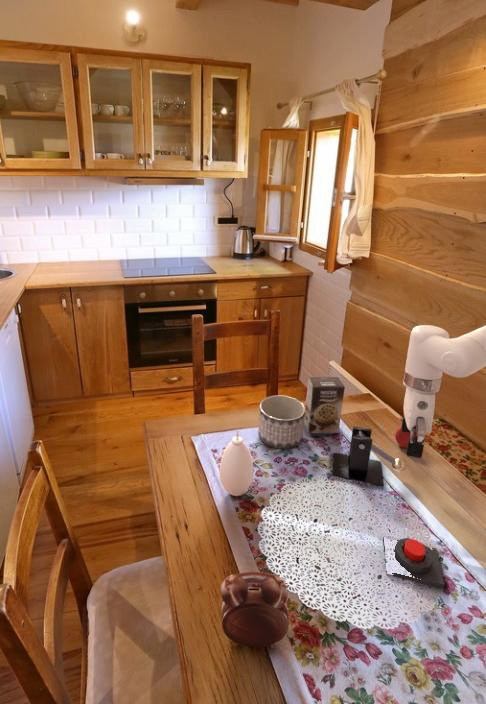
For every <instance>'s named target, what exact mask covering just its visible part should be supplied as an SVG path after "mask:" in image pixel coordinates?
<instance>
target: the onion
mask: <svg viewBox="0 0 486 704" xmlns="http://www.w3.org/2000/svg"><path fill="white" fill-rule="evenodd" d="M401 427H402V425H401V426H399V427H398V428H397V429H396V431H395V432H394V439H395V440H396V443H397V444H398V445H399V446H400V447H401V448H403V449H407V445H408V440H410V433H408V432H402V431H401ZM415 436H417V432H415V433H414V437H415Z"/></svg>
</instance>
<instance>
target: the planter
mask: <svg viewBox="0 0 486 704" xmlns="http://www.w3.org/2000/svg"><path fill="white" fill-rule="evenodd" d="M304 419H305V405H304V404H303V403H302V402H301V401H300V400H299V399H297V398H295V397H292V396H288V395H283V394H281V395H280V394H279V395H277V394H276V395H271V396H267V397H266V398H264V399H262V400H261V401H260V402H259V413H258V430H257V432H258V438H259V439H260V441H261V442H262V443H263V444H265V445H266V446H268V447H271V448H274V449H279V450H289V449H293V448H296V447H298V446H299V445H300V444H301V443H302V441H303V438H304V427H305V423H304Z"/></svg>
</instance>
